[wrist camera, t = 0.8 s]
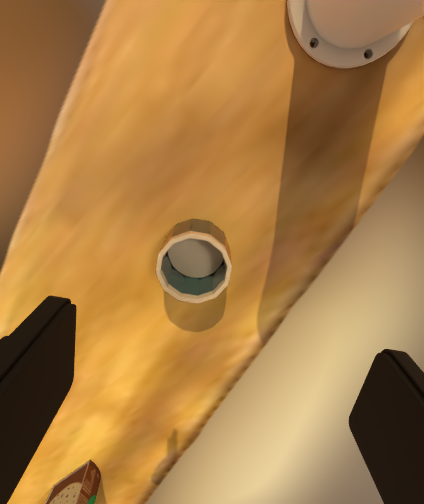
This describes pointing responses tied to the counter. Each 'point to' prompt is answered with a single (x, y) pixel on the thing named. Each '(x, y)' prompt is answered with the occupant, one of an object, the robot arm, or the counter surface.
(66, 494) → the food container
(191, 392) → the counter surface
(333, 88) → the counter surface
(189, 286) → the teal cup
